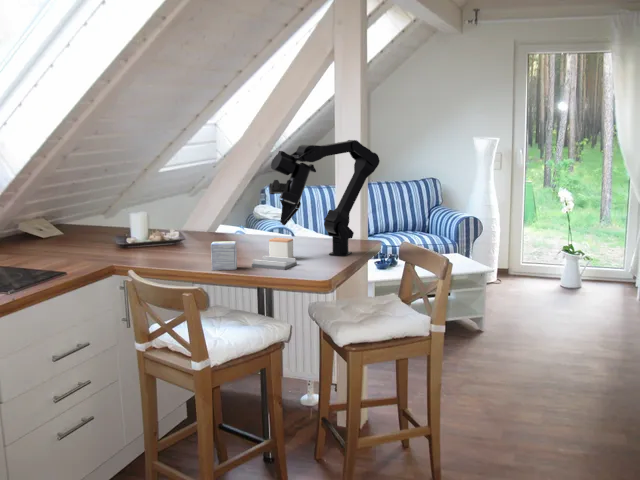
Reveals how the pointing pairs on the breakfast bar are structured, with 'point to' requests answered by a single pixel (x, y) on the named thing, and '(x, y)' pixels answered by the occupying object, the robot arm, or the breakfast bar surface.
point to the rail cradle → (275, 262)
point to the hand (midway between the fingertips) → (282, 223)
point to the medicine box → (224, 255)
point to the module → (281, 247)
